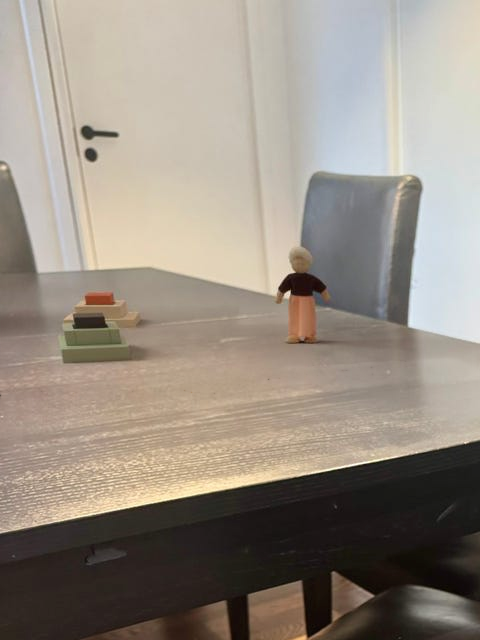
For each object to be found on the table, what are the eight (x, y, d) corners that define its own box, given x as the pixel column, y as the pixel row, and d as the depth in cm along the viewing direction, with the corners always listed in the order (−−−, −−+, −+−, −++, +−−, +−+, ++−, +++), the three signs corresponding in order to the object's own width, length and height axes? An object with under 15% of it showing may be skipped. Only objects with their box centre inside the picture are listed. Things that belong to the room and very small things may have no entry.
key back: (86, 307, 137) (84, 295, 136) (90, 304, 140) (88, 292, 140) (111, 307, 138) (109, 295, 137) (114, 304, 141) (113, 292, 140)
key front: (74, 327, 118) (72, 313, 117) (104, 326, 119) (102, 312, 119) (76, 332, 115) (74, 317, 114) (106, 330, 116) (104, 316, 116)
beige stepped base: (64, 328, 136) (60, 306, 135) (73, 320, 143) (70, 299, 141) (134, 327, 138) (131, 306, 136) (140, 319, 145) (137, 299, 143)
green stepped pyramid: (59, 348, 122) (55, 320, 120) (123, 345, 125) (119, 318, 123) (63, 363, 113) (58, 333, 111) (131, 359, 116) (127, 331, 114)
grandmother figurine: (282, 344, 128) (275, 247, 122) (276, 340, 131) (269, 244, 125) (335, 342, 131) (331, 246, 125) (328, 338, 134) (323, 244, 128)
